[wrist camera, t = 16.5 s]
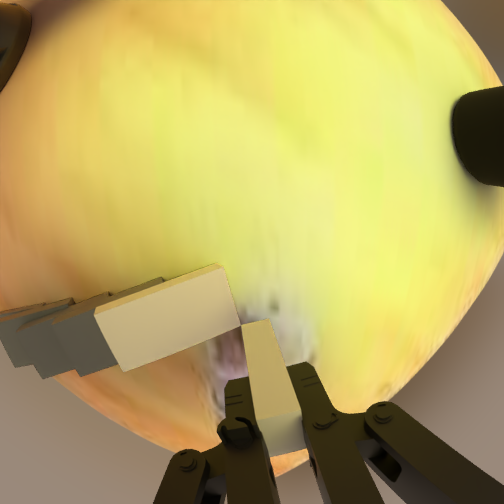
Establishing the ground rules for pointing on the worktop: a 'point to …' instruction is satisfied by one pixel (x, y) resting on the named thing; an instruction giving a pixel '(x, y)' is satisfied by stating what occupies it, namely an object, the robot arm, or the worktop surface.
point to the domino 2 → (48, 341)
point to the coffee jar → (481, 134)
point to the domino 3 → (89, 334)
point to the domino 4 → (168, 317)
